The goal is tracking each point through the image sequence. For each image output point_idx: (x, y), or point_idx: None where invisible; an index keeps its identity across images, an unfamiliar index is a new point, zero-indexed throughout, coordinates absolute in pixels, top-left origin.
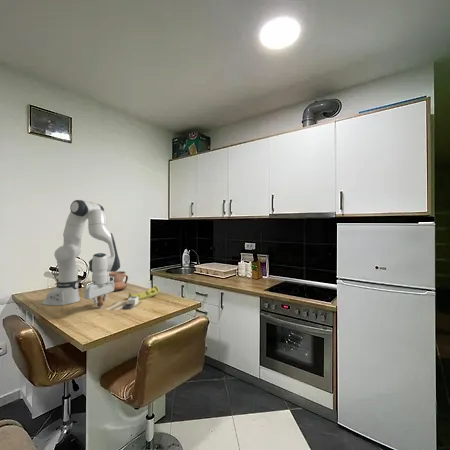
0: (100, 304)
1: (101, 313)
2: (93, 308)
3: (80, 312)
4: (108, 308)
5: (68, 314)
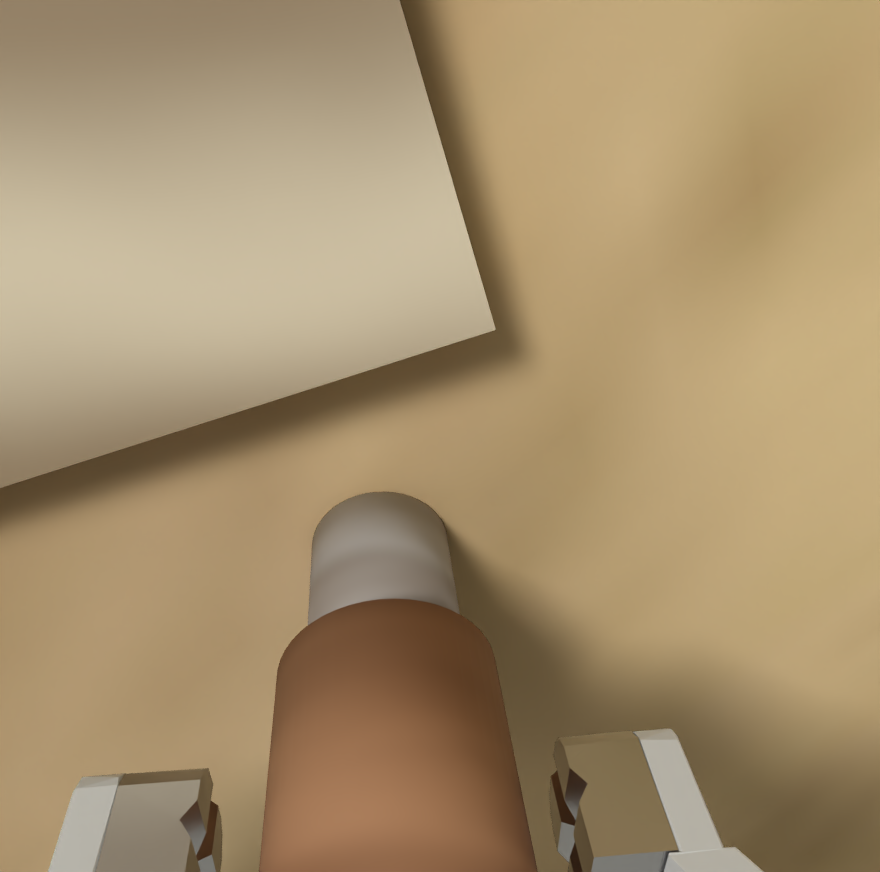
0: (461, 653)
1: (669, 235)
2: None
3: None
4: (298, 270)
5: (828, 855)
